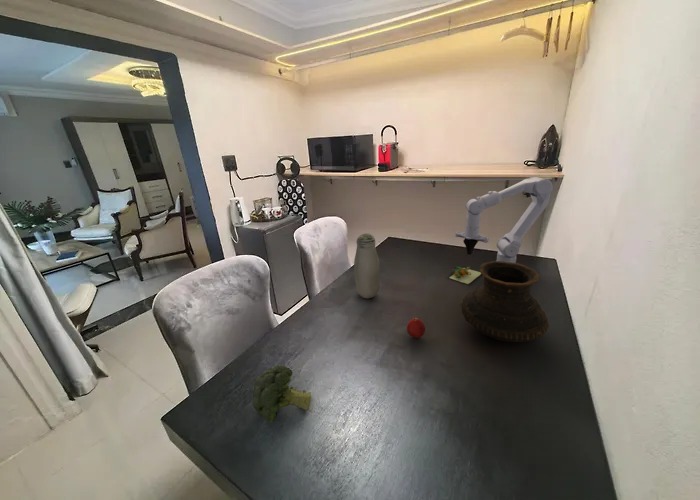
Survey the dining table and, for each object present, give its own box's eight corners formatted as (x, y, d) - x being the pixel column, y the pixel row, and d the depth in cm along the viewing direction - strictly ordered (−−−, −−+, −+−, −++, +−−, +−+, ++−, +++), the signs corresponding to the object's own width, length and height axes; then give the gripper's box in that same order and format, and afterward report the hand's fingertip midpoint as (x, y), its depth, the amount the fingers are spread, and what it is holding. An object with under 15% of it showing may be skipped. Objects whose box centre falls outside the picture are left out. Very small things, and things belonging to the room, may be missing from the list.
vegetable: (302, 436, 58) (237, 415, 57) (298, 425, 69) (244, 407, 68) (321, 378, 63) (262, 357, 62) (315, 377, 75) (265, 359, 74)
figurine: (447, 271, 123) (463, 277, 117) (461, 261, 129) (477, 265, 123) (447, 277, 124) (463, 282, 118) (460, 266, 131) (477, 271, 125)
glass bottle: (368, 305, 107) (365, 240, 97) (352, 296, 114) (347, 235, 104) (384, 295, 113) (383, 233, 102) (368, 287, 120) (365, 229, 110)
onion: (413, 329, 91) (413, 310, 88) (428, 336, 87) (429, 316, 84) (403, 338, 88) (403, 318, 85) (418, 346, 84) (419, 325, 81)
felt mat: (463, 268, 131) (463, 267, 131) (482, 273, 125) (482, 272, 124) (449, 278, 123) (449, 277, 122) (468, 284, 116) (468, 283, 116)
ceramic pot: (447, 335, 87) (451, 275, 79) (474, 302, 103) (481, 249, 95) (533, 373, 71) (551, 302, 63) (550, 327, 87) (566, 266, 79)
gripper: (452, 225, 122) (451, 252, 127) (485, 231, 111) (481, 260, 116) (460, 222, 126) (458, 248, 131) (492, 227, 116) (488, 255, 121)
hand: (469, 253), depth 124 cm, fingers closed
